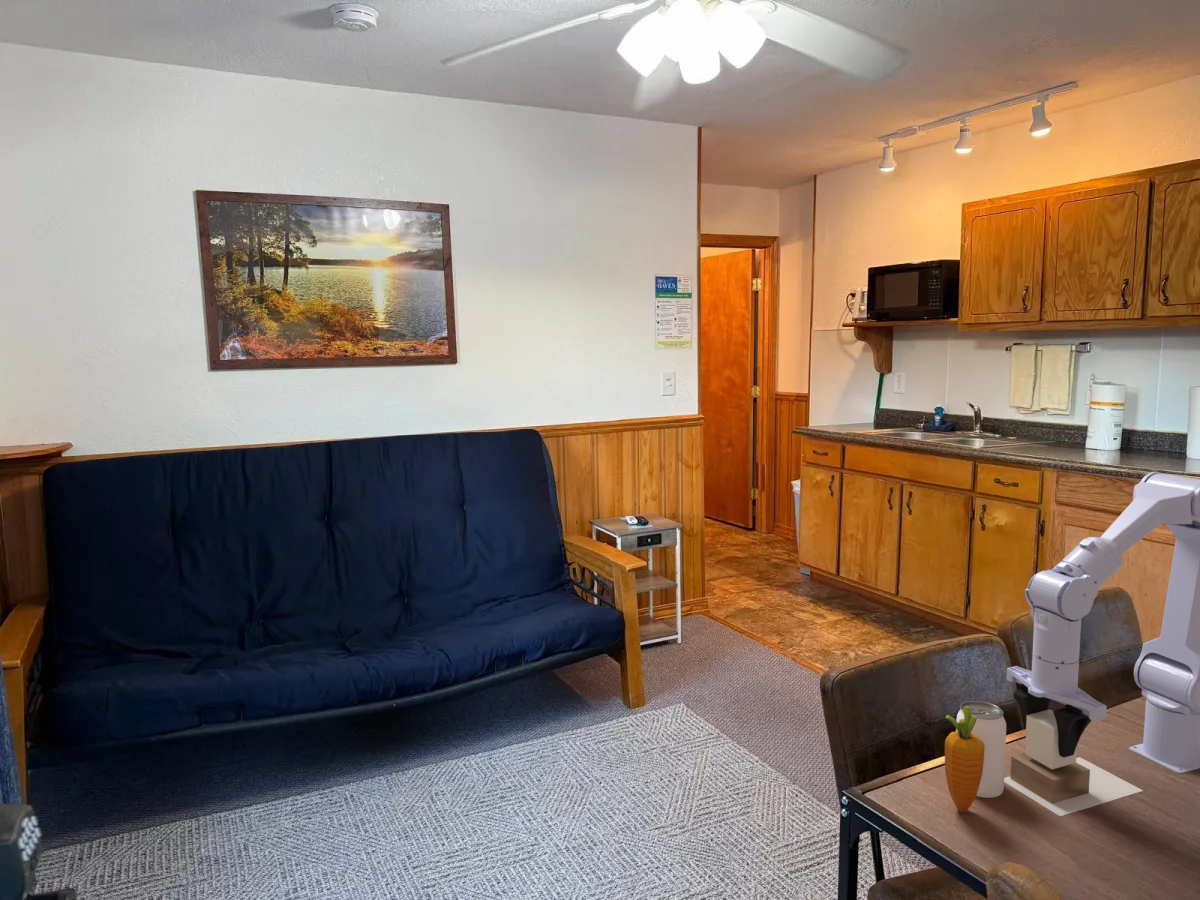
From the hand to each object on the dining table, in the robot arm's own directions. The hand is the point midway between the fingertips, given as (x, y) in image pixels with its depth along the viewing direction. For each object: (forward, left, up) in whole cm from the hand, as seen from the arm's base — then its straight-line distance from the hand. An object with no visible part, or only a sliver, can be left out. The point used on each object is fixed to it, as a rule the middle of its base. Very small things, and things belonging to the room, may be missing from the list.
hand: (1050, 746), depth 114 cm
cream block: (0, 0, -2) cm, 2 cm away
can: (+9, -4, -7) cm, 12 cm away
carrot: (+16, 0, -7) cm, 17 cm away
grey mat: (-3, +1, -6) cm, 7 cm away
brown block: (0, 0, -6) cm, 6 cm away
